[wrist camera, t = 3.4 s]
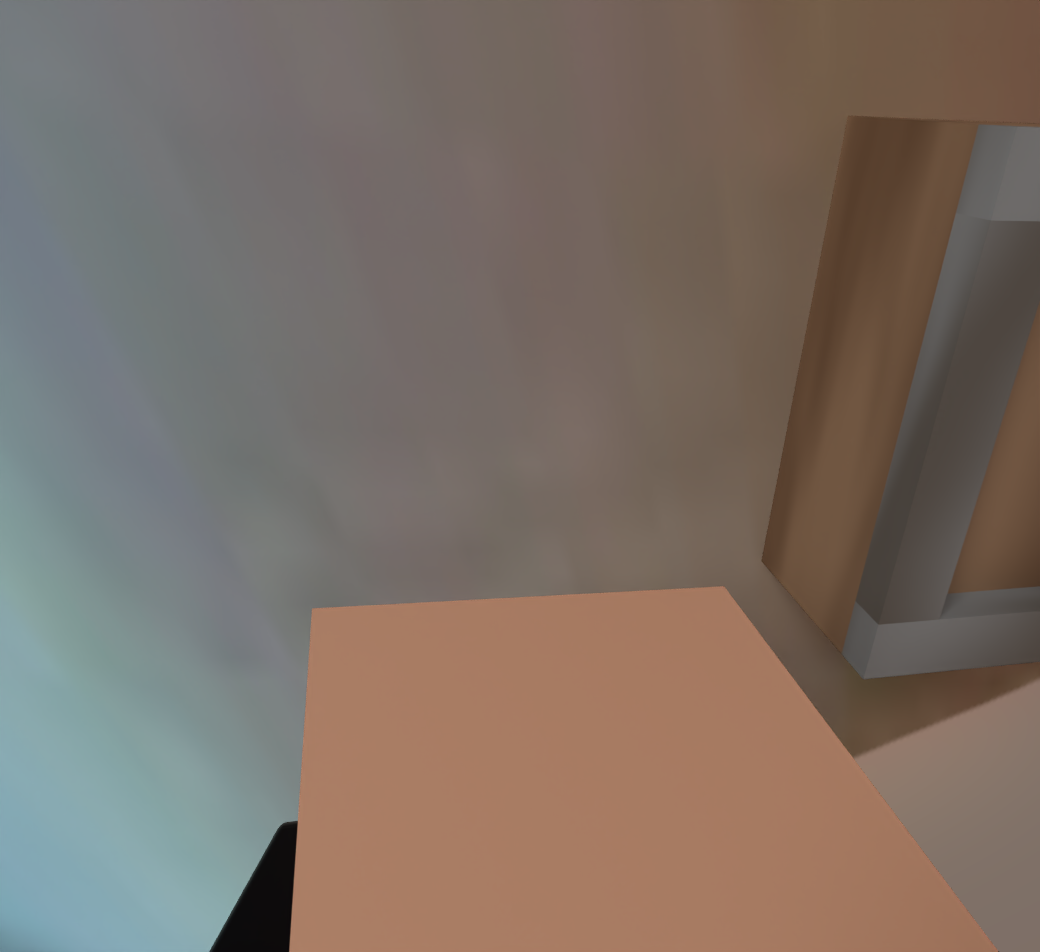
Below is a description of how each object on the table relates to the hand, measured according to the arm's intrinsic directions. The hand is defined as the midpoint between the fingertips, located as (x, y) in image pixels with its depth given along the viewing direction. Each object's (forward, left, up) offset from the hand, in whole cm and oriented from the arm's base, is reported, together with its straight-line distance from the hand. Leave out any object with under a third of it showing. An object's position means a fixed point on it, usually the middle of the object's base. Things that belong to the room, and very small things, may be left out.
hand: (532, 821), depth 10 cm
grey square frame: (-13, -3, -9) cm, 16 cm away
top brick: (0, 0, -1) cm, 1 cm away
